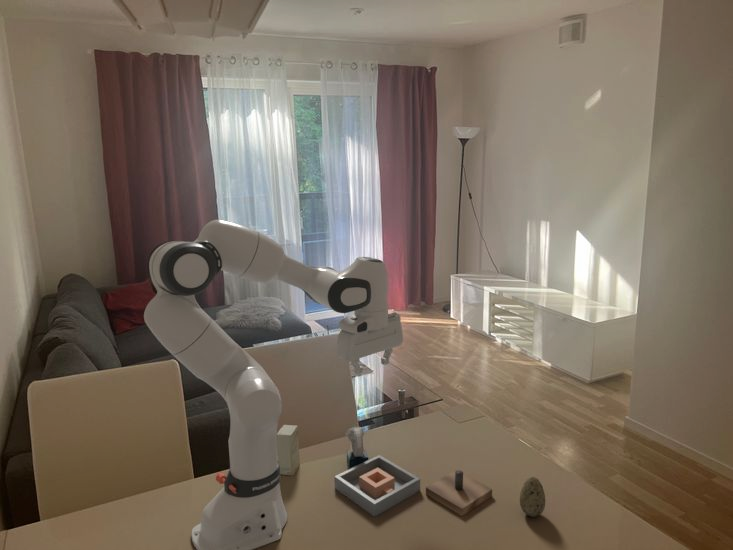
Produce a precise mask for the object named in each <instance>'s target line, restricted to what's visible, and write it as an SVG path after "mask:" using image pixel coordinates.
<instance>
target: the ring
mask: <svg viewBox="0 0 733 550" xmlns="http://www.w3.org/2000/svg"><path fill="white" fill-rule="evenodd" d="M376 482H378V483H376ZM359 487H360V488H362V489H363V490H365V491H366V492H367V493H369V494H370V495H372V496H373V497H375V498H377V497H379V496H381V495H386V494H388V493H390V492H391V491H393V489H394V488H395V478H394V477H392V476H391V475H389V474H388V473H386V472H384V471H383V470H381V469H379V468H376V469H374V470H372V471H370V472H368V473H366V474H364V475H362V476H360V477H359Z"/></svg>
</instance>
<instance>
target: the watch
mask: <svg viewBox="0 0 733 550" xmlns="http://www.w3.org/2000/svg"><path fill="white" fill-rule="evenodd" d="M364 434H365V432H364V428H363V427H361V426H353V427H351V428H349V429H348V430H347V431H346V433H345V436H346V437H348V440H349V442H350V443H351V450H350V451H346V463H347V466H348V470H349V469H351V468H353V467H355V466H357V465H359V464H361V463H363V462H365V461H367V460H369V455H368V453H367V449H364V448H365V447H364V439H363V437H364Z"/></svg>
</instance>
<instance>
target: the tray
mask: <svg viewBox="0 0 733 550" xmlns="http://www.w3.org/2000/svg"><path fill="white" fill-rule="evenodd" d="M376 468H379V469H381V470H383V471H384V472H386V473H388V474H389V475H391V476H392V477H394V478H395V488H394V489H393V491H391V492H390V493H388V494H386V495H381V496H379V497H377V498H375V497H373V496H372V495H370V494H369V493H367V492H366V491H365V490H363V489H362V488H360V487H359V477H360V476H362V475H364V474H366V473H368V472H370V471H372V470H374V469H376ZM376 483H378V482H376ZM334 489H335V490H337V491H338V492H339V491H340V492H339V493H341V494H342V495H344V497H346V496H347V499H349V500H350V499H351V501H352V502H353V503H355V504H356V505H357V504H358V506H359V507H360V508H362V509H363V510H364V511H366V512H368V513H369V514H370V515H372V516H373V518H374V517H375V516H376V517H377V516H379V515H381V514H383V513H385V512H386V511H388V510H390V509H391V508H393V507H395V506H396V505H398V504H400V503H401V502H403V501H406V500H407V499H409V498H410V497H413V495H415V494H417V493H419V492H420V491H421V478H420V477H418V476H416V475H415V474H413V473H411V472H409V471H408V470H406V469H404V468H403V467H401V466H399V465H397V464H396V463H394V462H392V461H391V460H389V459H387V458H386V457H384V456H382V455H381V454H378V455H376V456H374V457H371V458H369V459H368V460H367V461H365V462H363V463H361V464H359V465H357V466H355V467H353V468H351V469H349V468H348V469H347V470H345V471H343V472H341V473H338V474H337V475H335V476H334ZM376 517H375V518H376Z"/></svg>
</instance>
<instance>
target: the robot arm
mask: <svg viewBox="0 0 733 550" xmlns="http://www.w3.org/2000/svg"><path fill="white" fill-rule="evenodd" d="M146 270H147V274H148V279H149V282H150V286H151V289H152V291H153V293H155V296H154V297H152V299H150V301H148V303H147V305H146V306H145V310H144V312H143V313H144V314H143V319H144V323H145V324H146V327H148V329H149V330H150V331H151V333H152V334H153V336H154V337H155V338H156V339H157V340H158V342H159V343H160V344H161V345H162V346H163V347H164V348H165V349H166V350H167V351H168V352H169V353H170V354H171V355H172V356H173V357H174V358H175V359H176V360H177V361H178V362H180V364H182V365H183V366H184V367H185V368H186V369H187V370H188V371H189V372H190V373H192V374H193V375H194V376H195V378H197V379H198V380H199V379H200V380H202V381H203V382H204V383H206V384H207V385H209V386H210V387H211V388H212V389H214V390H215V391H217V392H218V393H219V395H220V396H221V397H222V399H224V402H226V404H227V407H228V412H229V417H230V427H229V437H228V453H229V454H228V455H229V470H228V473H227V476H226V475H225V474H224V473H223V472H218V473H216V475H215V480H216V481H217V482H218V483H219V485H222V484H223V485H224V486H223V487H222V488H221V489H220V490H219V492H218V493H217V494H216V495H215V496H214V497H213V498H212V499H211V500H210V501H209V503H208V504H206V505H205V507H204V508H203V510H202V513H201V517H200V523H198V524H197V525H195V526H194V527H192V529H191V541H192V544H193V546H194V548H195V549H196V550H255V549H257V548H260V547H263V546H265V545H269V544H271V543H274V542H275V541H278V540H280V539H281V538H282V535H283V534H282V533H283V529H284V526H285V525H286V524H287V521H288V518H289V516H288V512H287V509H286V507H285V504H284V502H283V497H282V492H281V486H280V485H281V484H280V483H281V479H282V478H281V474H280V465H279V462H278V452H277V437H276V434H277V433H278V431H277V430H278V424H279V419H280V417H281V415H282V409H283V406H282V399H281V394H280V390H279V388H278V387H277V386H276V384H275V382H273V380H272V378H271V377H270V376H269V374H268V373H267V372H266V371H265V369H264V368H263V367H262V365H260V363H259V362H257V361H256V359H254V357H252V356H251V355H250V354H249V353H248V352H247V351H246V350H245V349H244V348H242V347H241V346H240V345H239V344H238V343H237V342H236V341H234V340H233V338H232V337H230V335H228V334H227V333H226V331H225V330H223V328H222V327H221V326H220V325H219V324H217V322H216V321H215V320H214V319H213V318H212V317H211V316H210V315H208V314H207V313H206V311H204V310H203V309H202V307H201V306H200V305H199V303H198V301H197V300H196V297H195V295H198V294H200V293H202V292H203V291H204V290H206V289H207V288H208V286H210V285H211V283H212V282H213V280H214V278H215V277H216V276H217V275H218V274H219V273H220V272H221V271H223V272H226V273H229V274H232V275H234V276H237V277H239V278H241V279H244V280H247V281H251V282H255V283H258V284H259V283H261V284H268V283H271V282H272V281H274V280H275V281H276V280H277V281H281V282H282V283H286V284H288V285H289V286H290V285H291V286H293V287H296V288H298V289H300V290H302V292H304V293H305V295H306V296H308V298H309V299H310V300H311V301H313V302H314V303H316V304H319V305H322V306H324V307H326V308H327V309H329V310H331V311H333V312H335V313H338V314H348V313H350V314H348V315H346V316H345V317H344V318H342V319H341V320H339V321H338V324H337V325H338V329H339V330H340V332H339V333H338V335H337V356H338V357H339V358H340V360H342V361H344V362H347V363H349V362H350V363H351V365H352V366H353V372H354V374H355V375H361V374H363V372H364V371H363V368H364V367H363V366H361V365H360V364H359V363H360V359H362V358H365V357H368V356H370V355H375V354H377V353H381V352H384V353H383V356H381V357H380V364H381V365H384V366H386V365H389V364H390V357H391V355H392V353H393V349H394V348H397V347H399V346H401V345H402V344H403V342H404V336H403V335H404V334H403V326H402V322H401V315H400V314H399V313H397V312H396V311H394V312H391V313H389V305H388V300H387V296H388V292H389V282H388V272H387V267H386V264H385V262H383V260H380V259H378V258H375V257H374V258H373V257H369V256H359V257H357V258H356V259H355V260H354V261H353V262H352V263H351V264H350V265H348V266H347V267H346V268H344V269H343V270H341V271H338V270H336V269H335V268H332V267H329V266H324V265H323V266H321V265H320V266H311V265H308V264H305V263H304V262H301V261H298V260H297V259H293V258H291V257H289V256H287V254H285V251H284V249H283V246H282V245H281V244H279V243H278V242H277V241H275V240H274V239H272V238H271V237H269V236H267V235H265V234H264V233H261V232H259V231H258V230H257V231H256V230H255V229H252V228H250V227H248V226H244V225H242V224H239V223H235V222H231V221H227V220H223V219H212V220H211V221H209V222H207V223H206V224H205V225H204V226H203V227H202V228H201V231H199V235H198V237H197V238H196V239H195V240H194V241H183V240H174V241H166V242H162V243H160V244H158V245H156V246H155V247H154V248H153V249H152V250H151V252H150V253H149V255H148V258H147V264H146Z"/></svg>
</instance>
